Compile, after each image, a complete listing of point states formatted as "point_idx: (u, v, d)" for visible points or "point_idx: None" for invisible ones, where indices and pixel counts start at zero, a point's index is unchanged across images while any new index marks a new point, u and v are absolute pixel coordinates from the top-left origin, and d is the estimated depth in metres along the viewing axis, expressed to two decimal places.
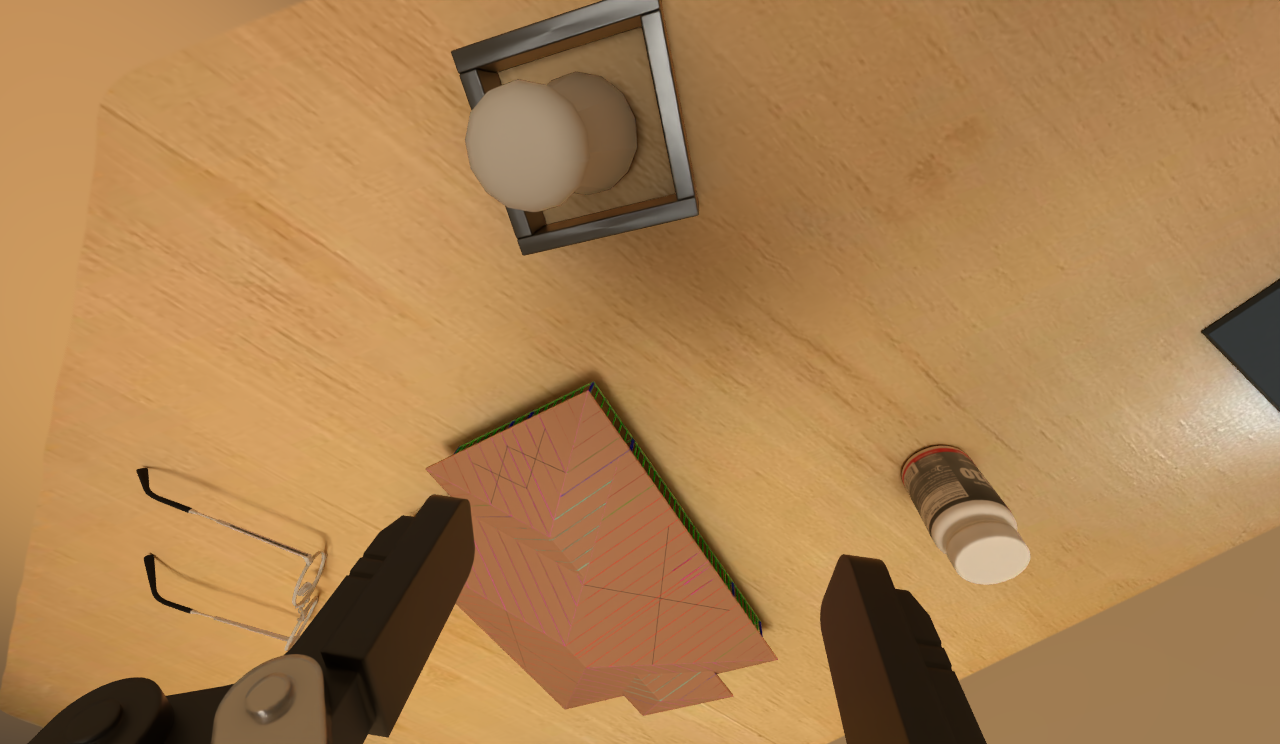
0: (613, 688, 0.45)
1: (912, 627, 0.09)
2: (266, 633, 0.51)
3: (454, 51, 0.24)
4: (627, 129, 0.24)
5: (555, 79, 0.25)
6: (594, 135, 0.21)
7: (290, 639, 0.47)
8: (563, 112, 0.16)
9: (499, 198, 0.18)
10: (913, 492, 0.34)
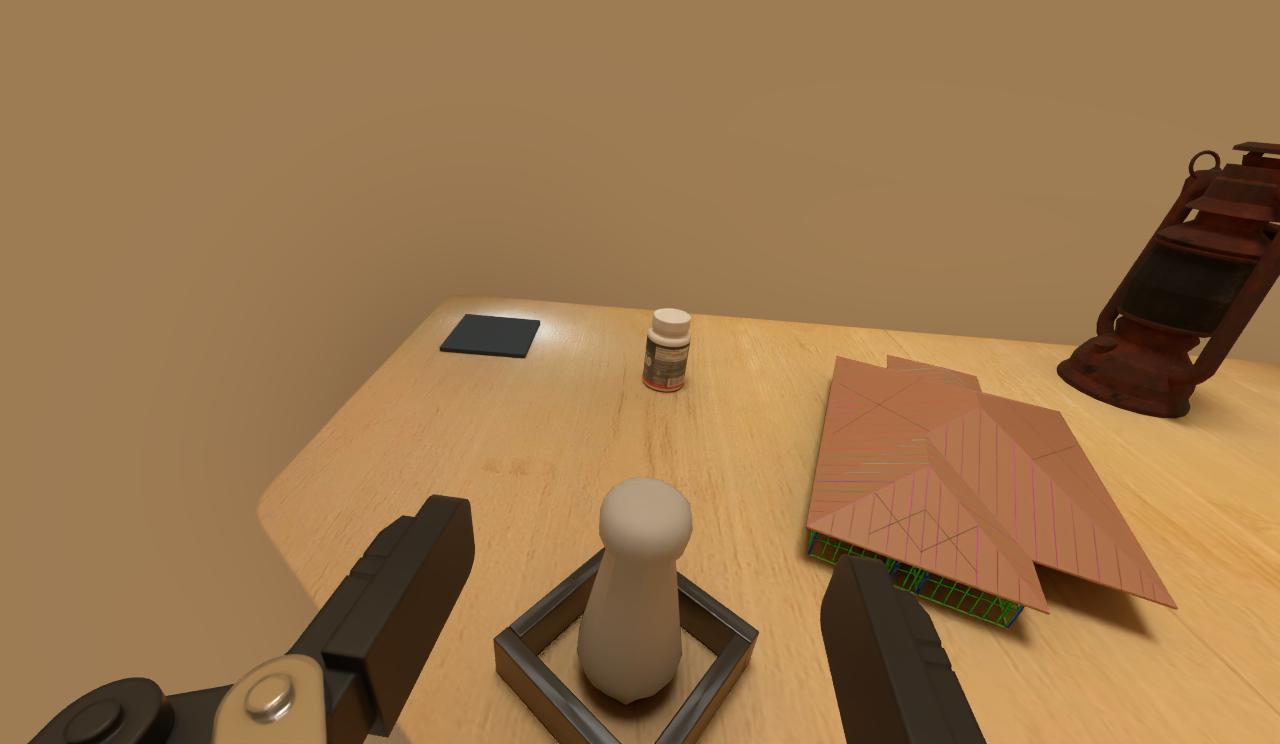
0: None
1: (912, 627, 0.09)
2: None
3: None
4: None
5: (601, 682, 0.25)
6: None
7: None
8: (607, 496, 0.23)
9: (688, 507, 0.23)
10: (680, 371, 0.54)
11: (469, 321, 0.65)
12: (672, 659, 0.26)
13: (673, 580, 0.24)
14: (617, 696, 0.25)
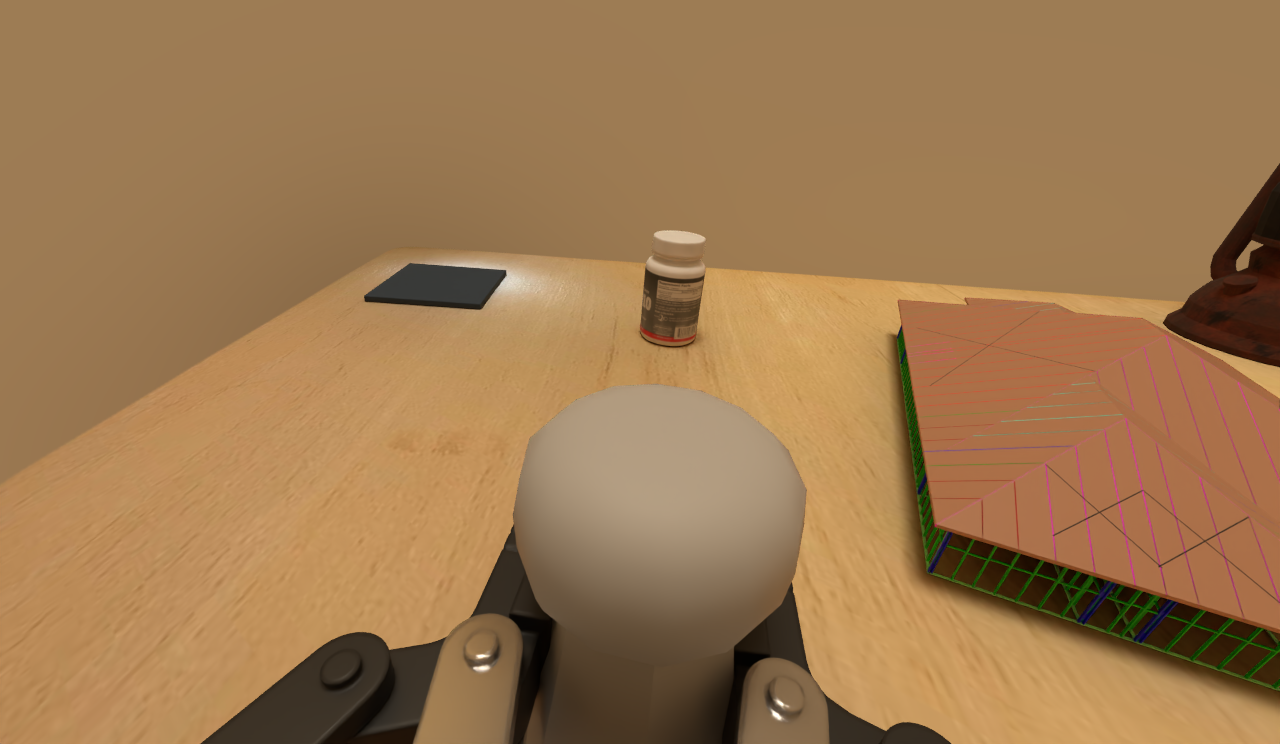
0: None
1: None
2: None
3: None
4: None
5: None
6: None
7: None
8: (541, 429, 0.08)
9: (787, 456, 0.07)
10: (691, 317, 0.39)
11: (412, 270, 0.50)
12: None
13: None
14: None
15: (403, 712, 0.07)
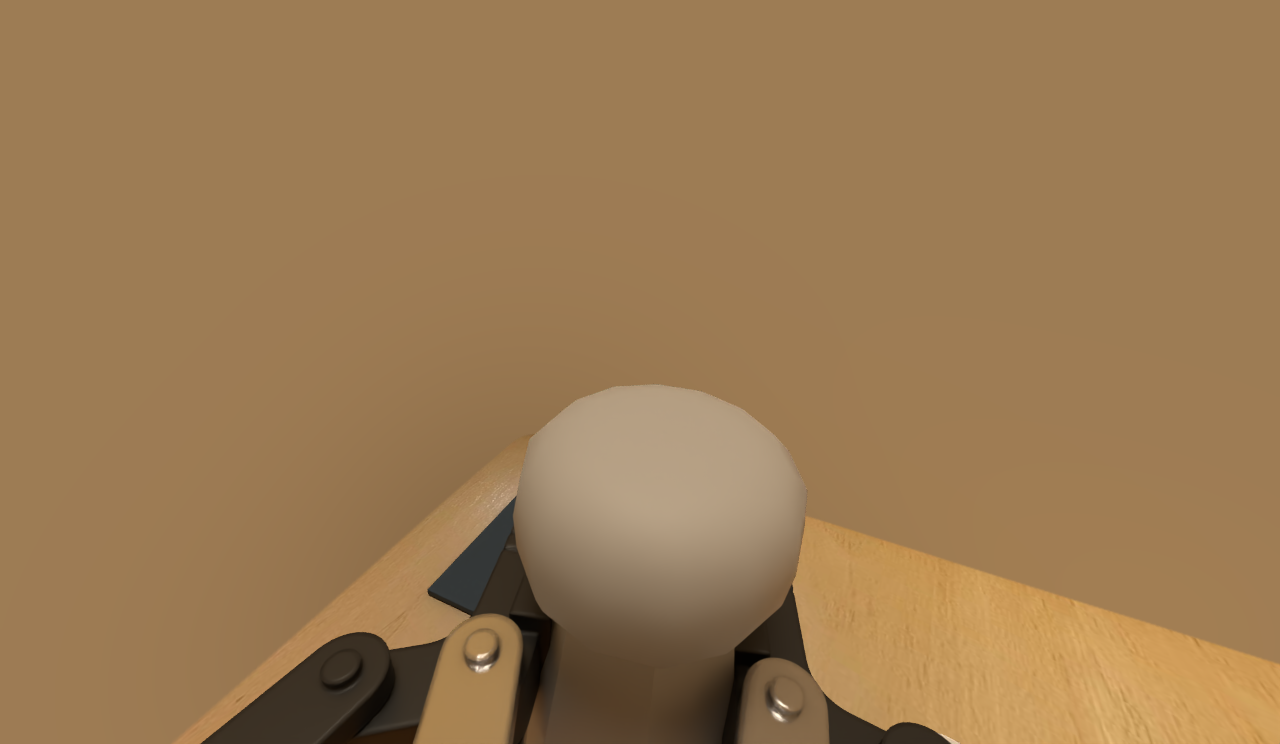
0: None
1: None
2: None
3: None
4: None
5: None
6: None
7: None
8: (541, 429, 0.08)
9: (788, 457, 0.07)
10: None
11: None
12: None
13: None
14: None
15: (403, 712, 0.07)
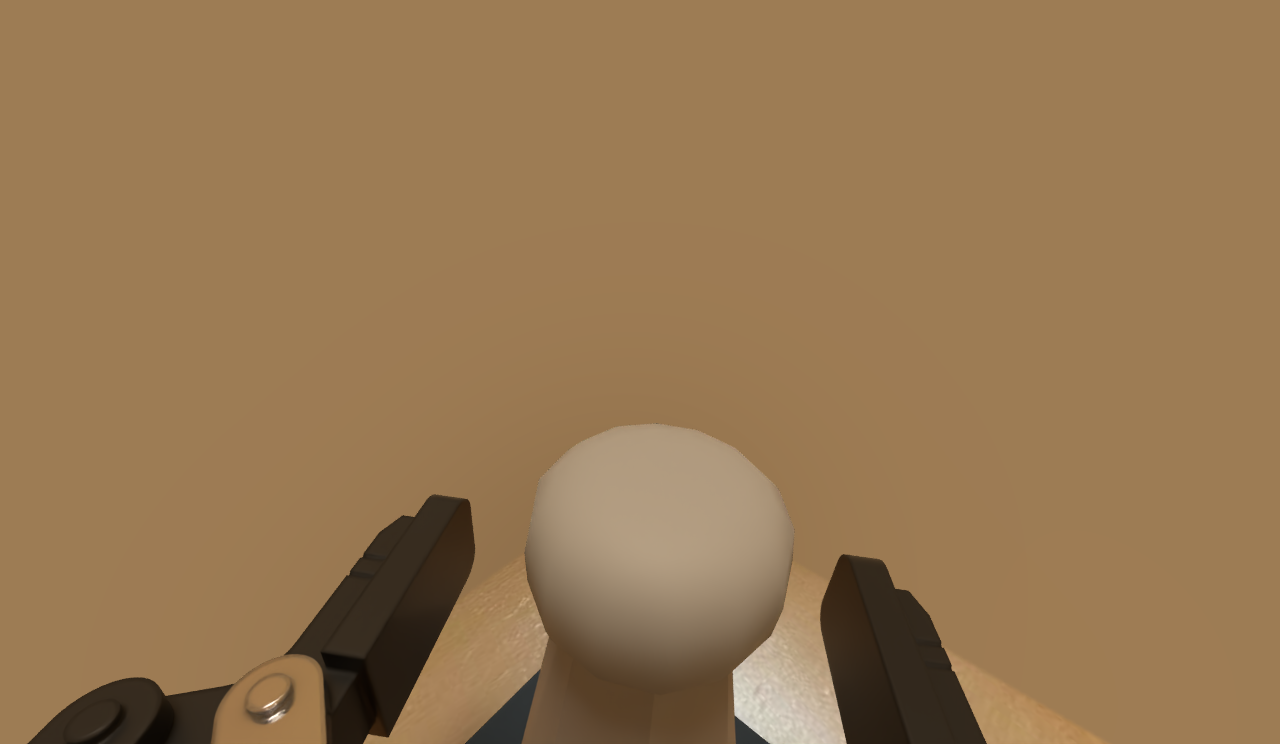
0: None
1: (912, 627, 0.09)
2: None
3: None
4: None
5: None
6: None
7: None
8: (550, 470, 0.08)
9: (777, 497, 0.08)
10: None
11: None
12: None
13: (730, 688, 0.09)
14: None
15: (195, 733, 0.07)
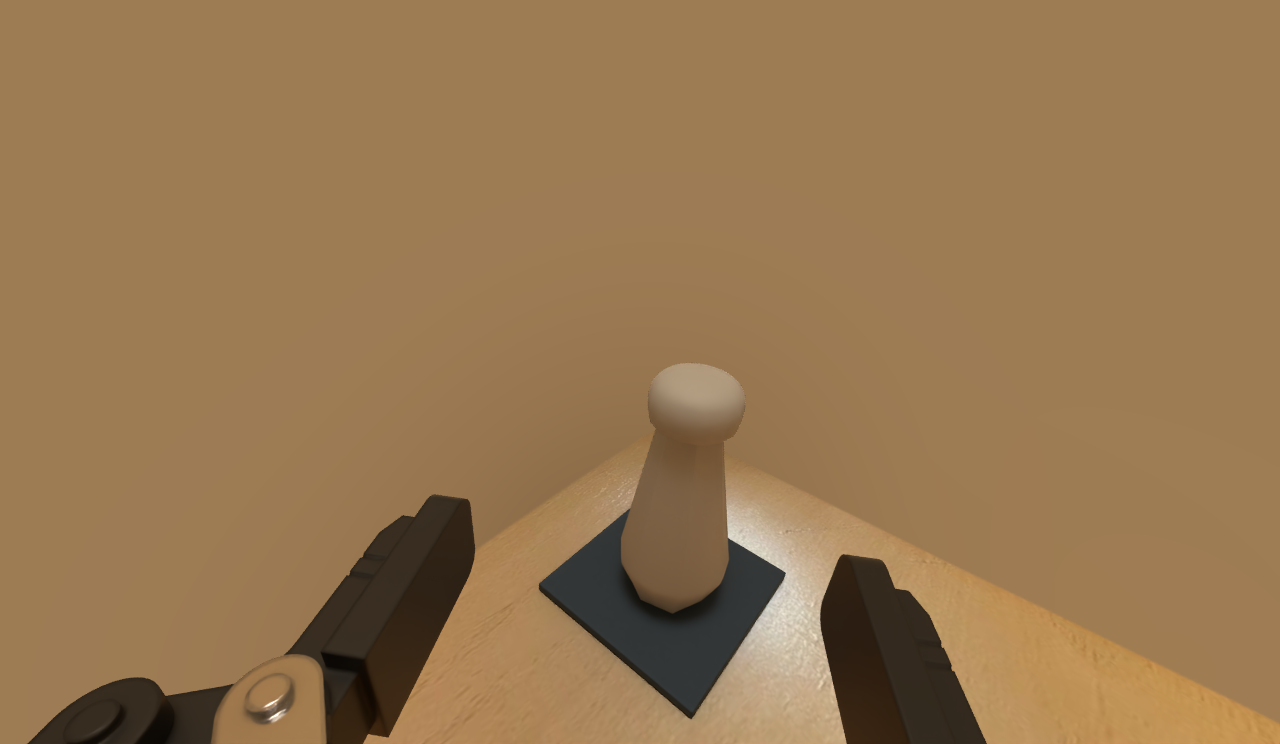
0: None
1: (912, 627, 0.09)
2: None
3: None
4: None
5: (650, 583, 0.24)
6: None
7: None
8: (655, 377, 0.22)
9: (739, 386, 0.22)
10: None
11: None
12: (722, 559, 0.25)
13: (723, 470, 0.23)
14: (666, 597, 0.24)
15: (195, 734, 0.07)
